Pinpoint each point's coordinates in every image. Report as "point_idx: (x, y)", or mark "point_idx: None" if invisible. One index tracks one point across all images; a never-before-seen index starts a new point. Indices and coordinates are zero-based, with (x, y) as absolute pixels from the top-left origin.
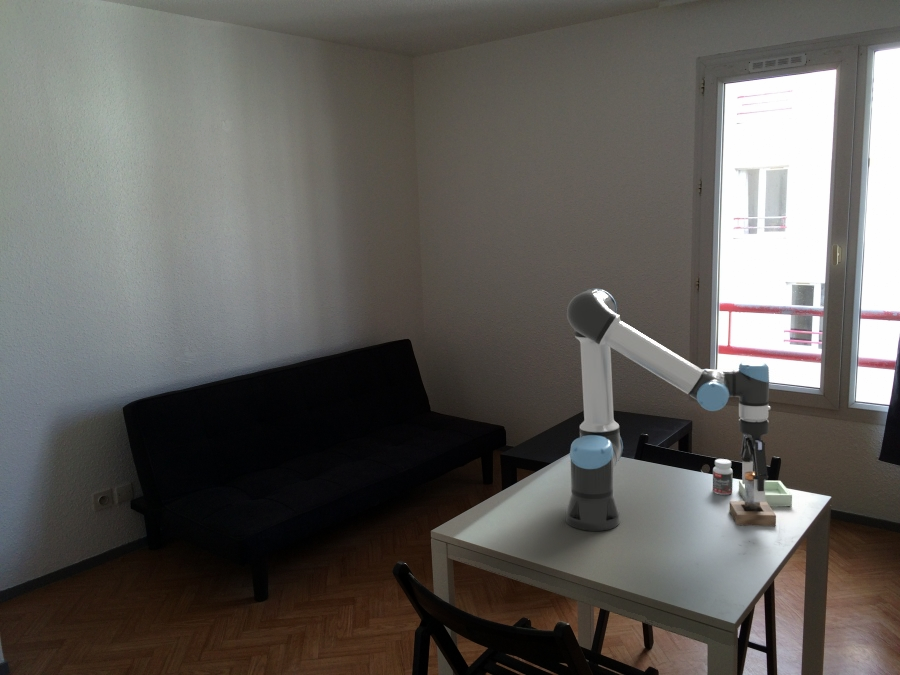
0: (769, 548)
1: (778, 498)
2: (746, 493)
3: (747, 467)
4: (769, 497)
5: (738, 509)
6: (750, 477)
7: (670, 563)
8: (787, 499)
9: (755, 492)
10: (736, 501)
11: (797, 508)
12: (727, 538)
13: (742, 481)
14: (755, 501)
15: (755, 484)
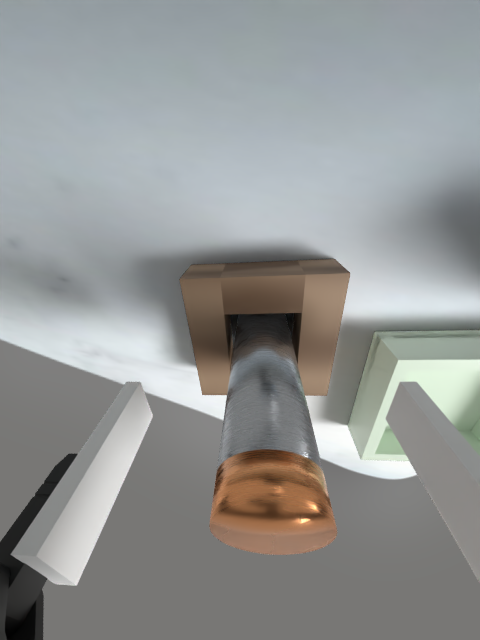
0: (40, 324)
1: (365, 424)
2: (247, 371)
3: (477, 527)
4: (372, 408)
5: (240, 293)
6: (217, 497)
7: None
8: (358, 438)
9: (98, 431)
10: (339, 302)
11: (334, 432)
12: (48, 204)
13: (418, 392)
14: (125, 386)
15: (56, 491)
